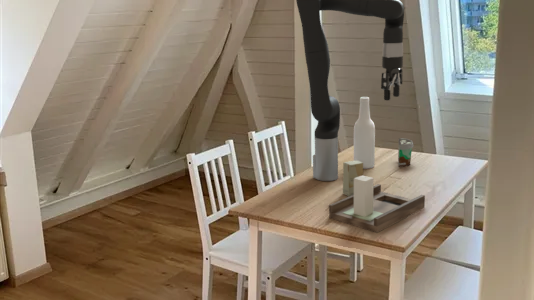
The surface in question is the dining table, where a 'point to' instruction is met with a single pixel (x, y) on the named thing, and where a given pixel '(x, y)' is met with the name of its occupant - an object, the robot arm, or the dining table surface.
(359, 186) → the block
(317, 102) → the robot arm
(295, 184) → the dining table surface
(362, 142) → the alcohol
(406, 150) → the food container
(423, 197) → the channel
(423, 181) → the dining table surface
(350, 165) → the skincare box
